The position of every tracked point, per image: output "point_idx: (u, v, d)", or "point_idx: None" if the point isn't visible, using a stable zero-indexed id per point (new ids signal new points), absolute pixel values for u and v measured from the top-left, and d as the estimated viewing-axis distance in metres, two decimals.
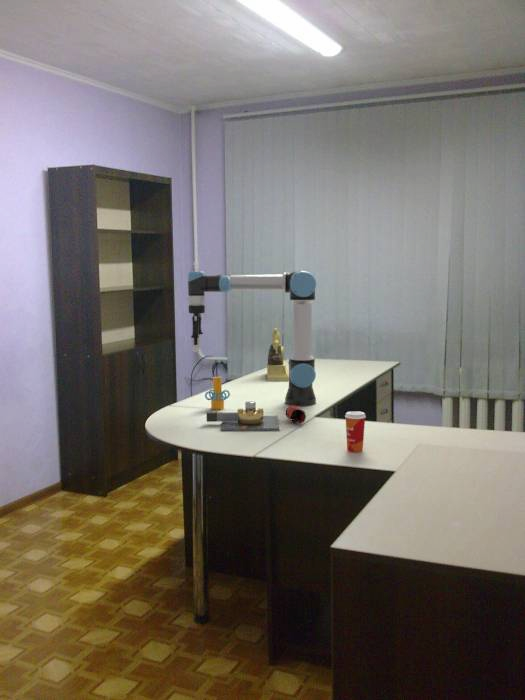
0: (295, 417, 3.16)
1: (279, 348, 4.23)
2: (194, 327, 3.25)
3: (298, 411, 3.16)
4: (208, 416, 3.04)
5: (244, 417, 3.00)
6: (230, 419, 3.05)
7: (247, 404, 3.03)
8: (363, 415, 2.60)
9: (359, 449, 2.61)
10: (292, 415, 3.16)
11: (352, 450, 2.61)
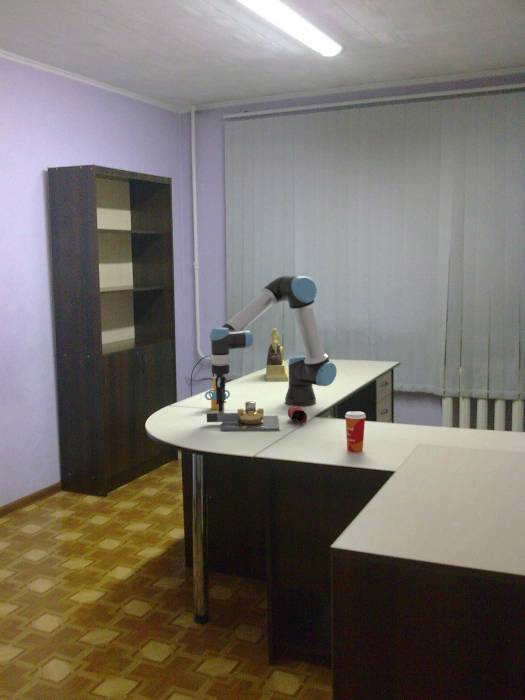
0: (298, 418, 3.15)
1: (278, 348, 4.23)
2: (218, 394, 3.00)
3: (301, 412, 3.15)
4: (208, 417, 3.03)
5: (245, 417, 3.00)
6: (230, 419, 3.04)
7: (247, 404, 3.03)
8: (363, 415, 2.60)
9: (359, 449, 2.61)
10: (295, 415, 3.15)
11: (352, 450, 2.61)
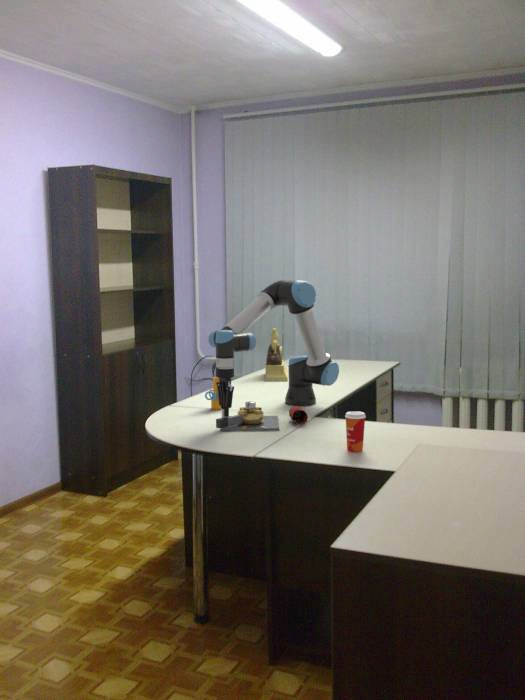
0: (299, 418, 3.14)
1: (278, 348, 4.23)
2: (229, 398, 2.92)
3: (302, 412, 3.14)
4: (221, 423, 2.92)
5: (254, 417, 3.00)
6: (237, 422, 2.99)
7: (247, 404, 3.03)
8: (363, 415, 2.60)
9: (359, 449, 2.61)
10: (296, 416, 3.15)
11: (352, 450, 2.61)
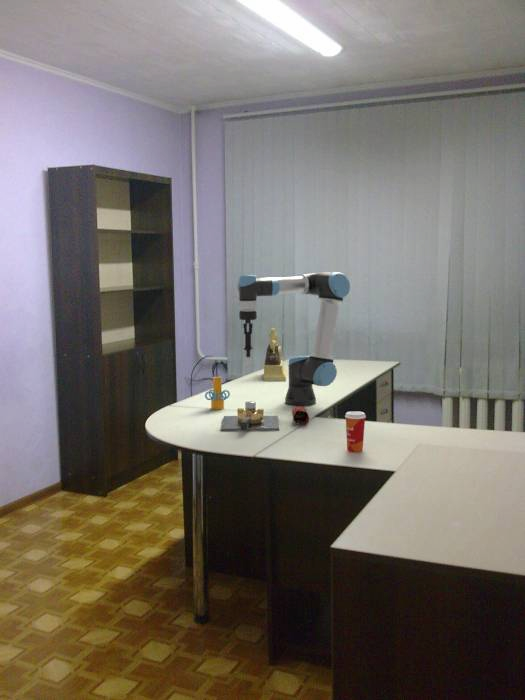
0: (303, 418, 3.13)
1: (276, 348, 4.23)
2: (247, 339, 3.08)
3: (306, 412, 3.13)
4: (246, 425, 2.88)
5: (261, 416, 3.02)
6: (249, 423, 2.97)
7: (247, 404, 3.03)
8: (363, 415, 2.60)
9: (359, 449, 2.61)
10: (300, 416, 3.13)
11: (352, 450, 2.61)
